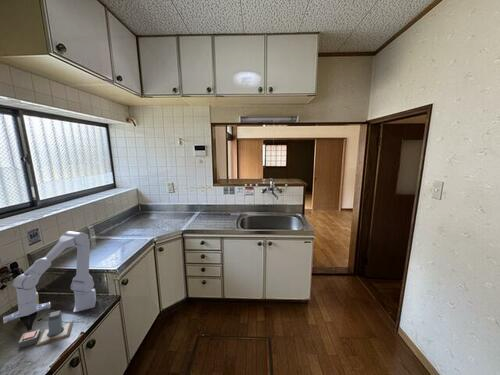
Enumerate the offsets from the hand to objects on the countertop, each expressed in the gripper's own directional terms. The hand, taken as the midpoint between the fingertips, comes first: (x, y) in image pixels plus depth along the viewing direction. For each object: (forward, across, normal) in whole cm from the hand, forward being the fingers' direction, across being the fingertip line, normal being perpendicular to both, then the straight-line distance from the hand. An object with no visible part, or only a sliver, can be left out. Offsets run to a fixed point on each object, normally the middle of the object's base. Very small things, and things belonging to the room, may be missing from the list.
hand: (29, 329), depth 96 cm
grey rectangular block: (+5, -8, +3) cm, 10 cm away
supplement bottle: (+6, -2, -31) cm, 32 cm away
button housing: (+6, 0, 0) cm, 6 cm away
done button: (+5, 0, 0) cm, 5 cm away
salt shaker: (+6, +1, -22) cm, 23 cm away
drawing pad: (+6, -8, +3) cm, 10 cm away
